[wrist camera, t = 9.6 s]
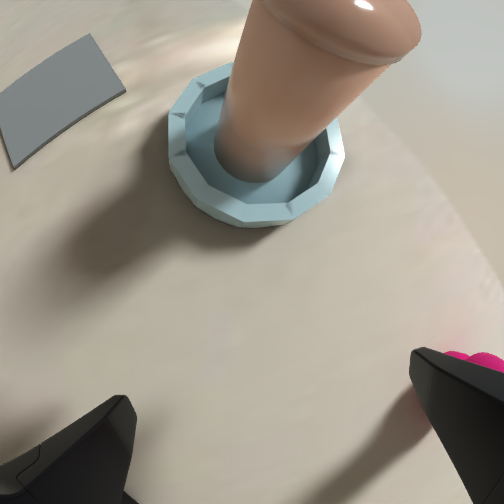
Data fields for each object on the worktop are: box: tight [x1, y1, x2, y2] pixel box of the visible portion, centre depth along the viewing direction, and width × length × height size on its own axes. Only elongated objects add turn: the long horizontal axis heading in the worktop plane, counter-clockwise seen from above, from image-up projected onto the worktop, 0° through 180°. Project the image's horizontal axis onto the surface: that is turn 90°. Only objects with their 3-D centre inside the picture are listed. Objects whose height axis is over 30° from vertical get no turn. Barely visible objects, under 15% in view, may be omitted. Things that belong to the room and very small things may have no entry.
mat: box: [0, 33, 126, 169], centre depth 18 cm, size 10×8×1 cm
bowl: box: [168, 62, 345, 228], centre depth 19 cm, size 11×11×3 cm
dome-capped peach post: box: [214, 0, 421, 183], centre depth 13 cm, size 5×5×14 cm
